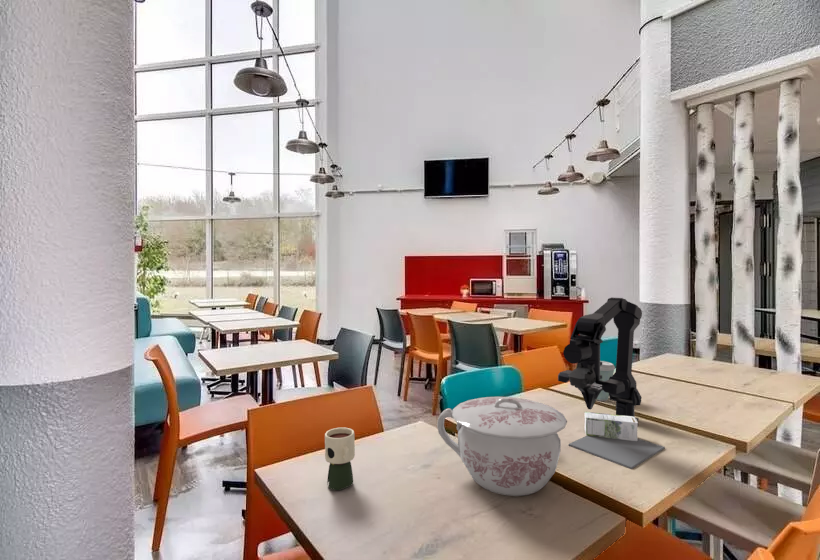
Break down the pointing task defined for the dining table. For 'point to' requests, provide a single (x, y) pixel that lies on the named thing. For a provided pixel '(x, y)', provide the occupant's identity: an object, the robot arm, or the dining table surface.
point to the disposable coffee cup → (605, 378)
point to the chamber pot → (506, 442)
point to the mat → (618, 449)
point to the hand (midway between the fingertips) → (589, 409)
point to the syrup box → (611, 426)
